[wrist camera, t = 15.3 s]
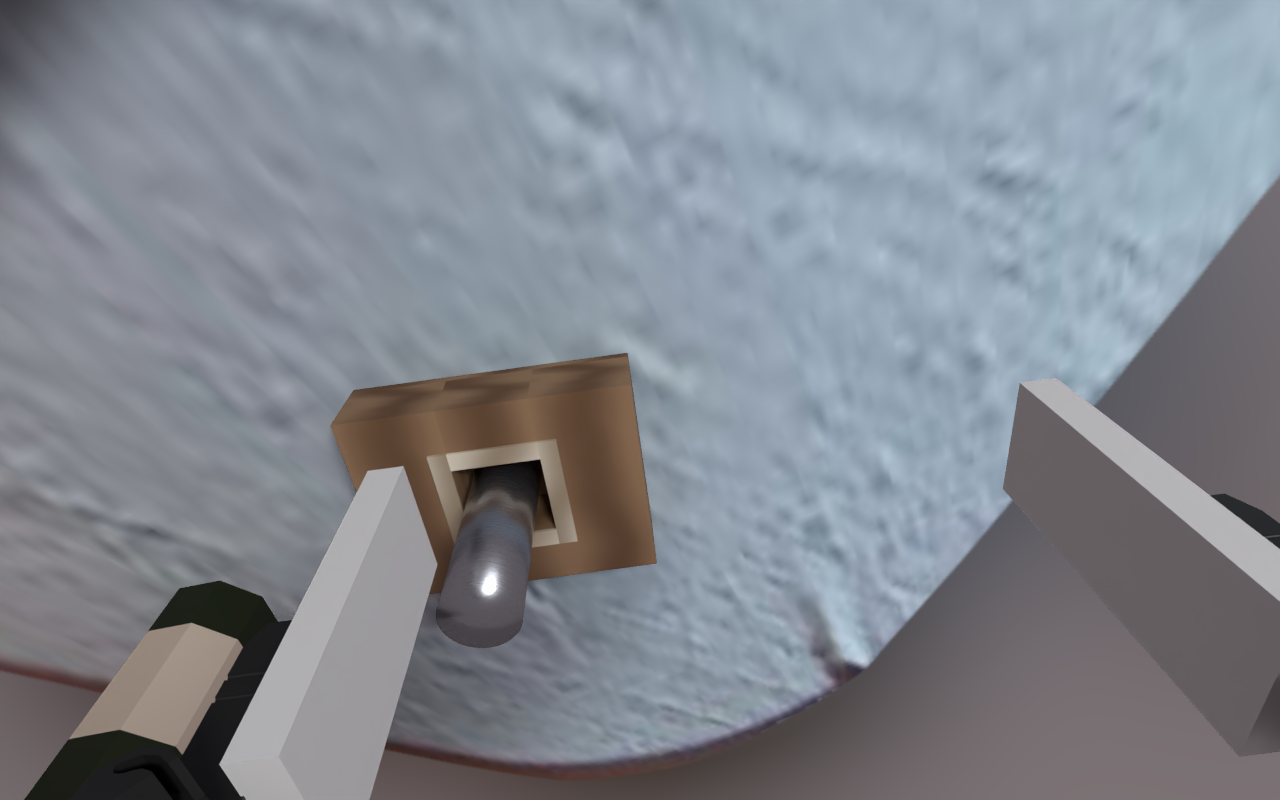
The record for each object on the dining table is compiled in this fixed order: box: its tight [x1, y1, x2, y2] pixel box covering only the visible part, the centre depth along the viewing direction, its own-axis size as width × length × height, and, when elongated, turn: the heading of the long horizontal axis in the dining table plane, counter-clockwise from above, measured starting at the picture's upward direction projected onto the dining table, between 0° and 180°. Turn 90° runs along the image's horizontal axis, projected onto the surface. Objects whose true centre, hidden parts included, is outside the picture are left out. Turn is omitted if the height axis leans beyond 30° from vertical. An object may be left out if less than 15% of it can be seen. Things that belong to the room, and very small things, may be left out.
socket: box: [330, 353, 657, 594], centre depth 46 cm, size 18×14×5 cm
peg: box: [436, 459, 542, 648], centre depth 42 cm, size 4×4×14 cm
